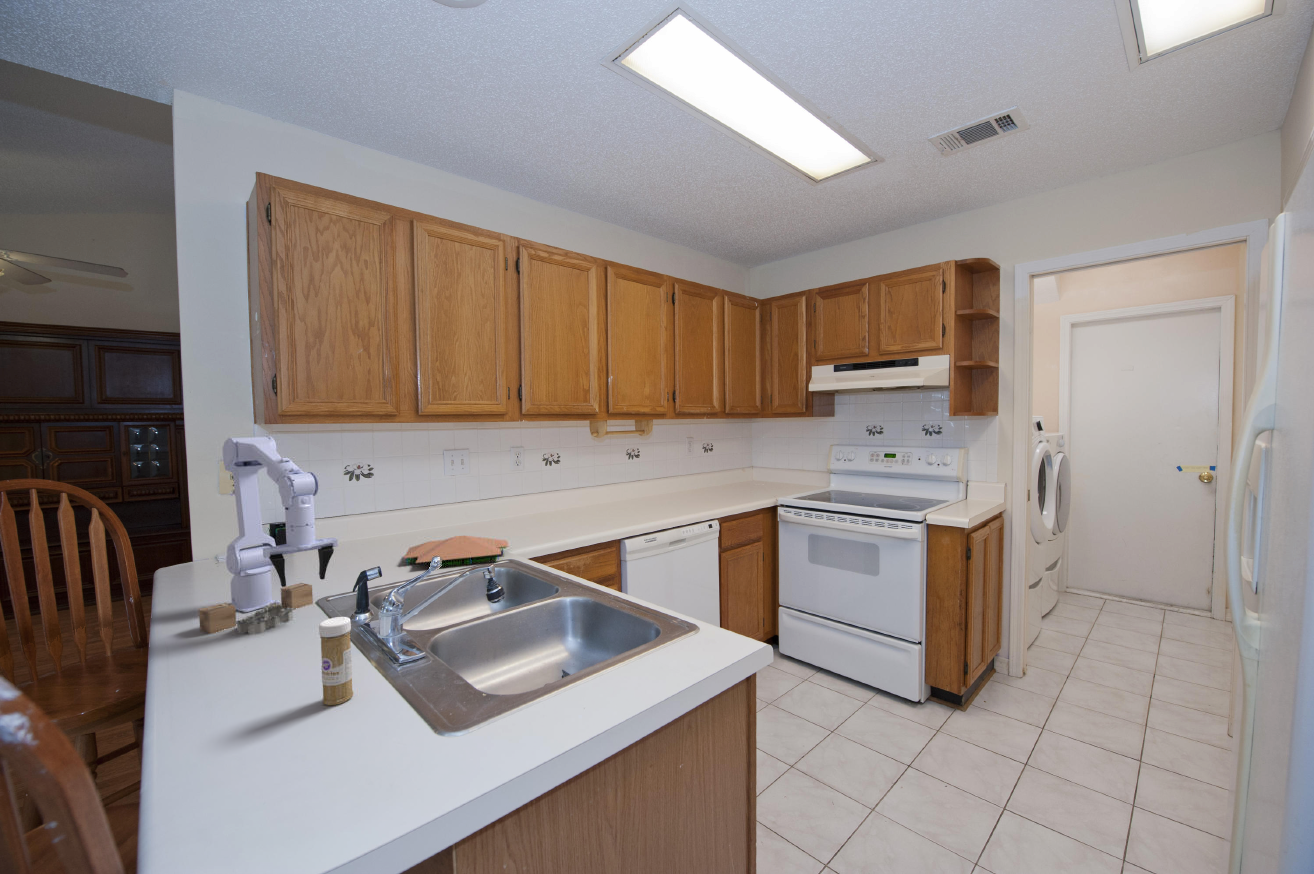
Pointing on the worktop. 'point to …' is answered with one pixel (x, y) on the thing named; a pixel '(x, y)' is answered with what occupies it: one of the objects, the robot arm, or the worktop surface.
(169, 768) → the worktop surface
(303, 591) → the numbered block one
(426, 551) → the house
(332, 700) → the sprinkles bottle
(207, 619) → the numbered block seven
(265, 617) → the egg carton
